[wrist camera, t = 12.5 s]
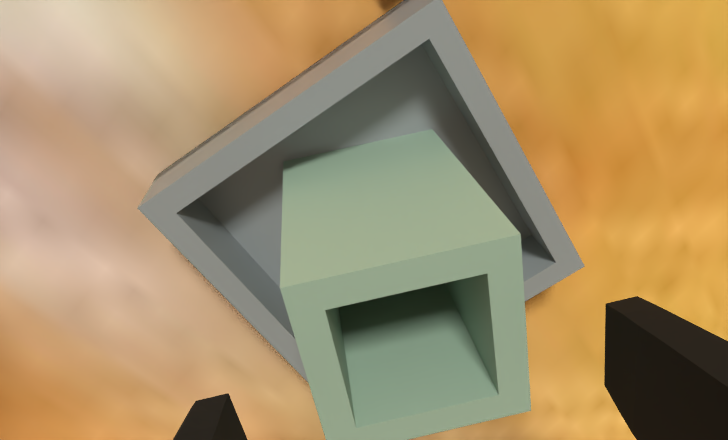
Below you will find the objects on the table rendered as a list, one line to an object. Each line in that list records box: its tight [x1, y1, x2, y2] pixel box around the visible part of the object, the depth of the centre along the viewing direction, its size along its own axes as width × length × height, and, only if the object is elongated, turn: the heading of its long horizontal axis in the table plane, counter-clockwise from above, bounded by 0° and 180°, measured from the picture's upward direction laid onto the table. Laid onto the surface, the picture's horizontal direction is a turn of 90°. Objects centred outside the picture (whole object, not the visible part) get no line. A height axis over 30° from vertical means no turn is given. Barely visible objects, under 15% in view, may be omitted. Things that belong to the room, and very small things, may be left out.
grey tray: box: [138, 0, 584, 383], centre depth 17 cm, size 9×9×2 cm
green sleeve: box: [280, 129, 531, 440], centre depth 14 cm, size 5×5×7 cm
